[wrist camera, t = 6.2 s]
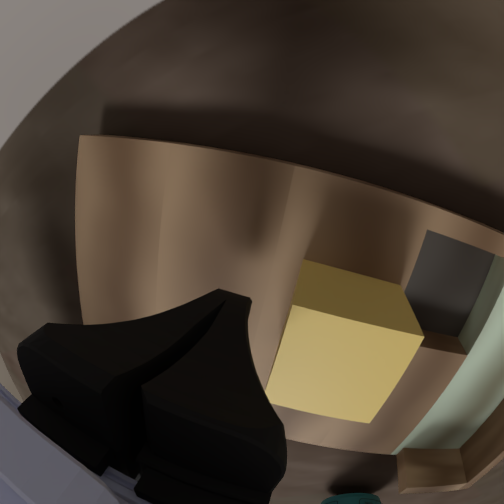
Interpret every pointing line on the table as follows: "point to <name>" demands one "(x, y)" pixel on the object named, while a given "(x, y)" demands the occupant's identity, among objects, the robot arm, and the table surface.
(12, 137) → the table surface
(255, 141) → the table surface
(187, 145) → the trap board
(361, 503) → the beverage bottle
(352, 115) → the table surface
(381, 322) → the mustard block
